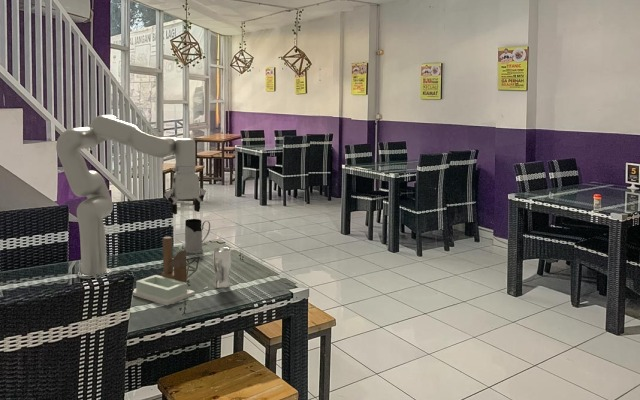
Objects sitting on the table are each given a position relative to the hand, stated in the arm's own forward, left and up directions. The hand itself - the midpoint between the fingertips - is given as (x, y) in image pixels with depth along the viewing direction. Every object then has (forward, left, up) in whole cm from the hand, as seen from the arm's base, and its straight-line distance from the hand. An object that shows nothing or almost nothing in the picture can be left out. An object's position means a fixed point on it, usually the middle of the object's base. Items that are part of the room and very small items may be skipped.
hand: (185, 212), depth 218 cm
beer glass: (+17, +2, -28) cm, 33 cm away
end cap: (+5, -18, -28) cm, 34 cm away
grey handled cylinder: (-27, +35, -28) cm, 52 cm away
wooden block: (-1, -6, -28) cm, 29 cm away
